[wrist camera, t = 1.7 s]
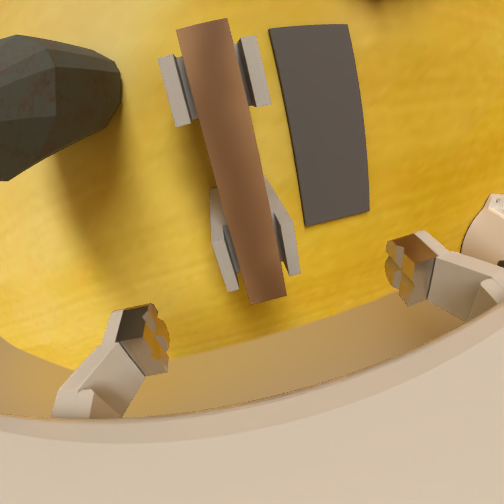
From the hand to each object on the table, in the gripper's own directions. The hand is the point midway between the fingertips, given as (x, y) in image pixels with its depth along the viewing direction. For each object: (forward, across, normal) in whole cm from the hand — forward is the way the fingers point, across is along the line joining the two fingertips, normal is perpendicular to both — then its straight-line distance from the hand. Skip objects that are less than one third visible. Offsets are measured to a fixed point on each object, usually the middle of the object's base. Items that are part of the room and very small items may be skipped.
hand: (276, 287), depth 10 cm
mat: (+25, +12, 0) cm, 27 cm away
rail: (+15, 0, 0) cm, 15 cm away
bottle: (+25, -14, +11) cm, 31 cm away
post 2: (+25, 0, -7) cm, 26 cm away
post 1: (+25, 0, +7) cm, 26 cm away
